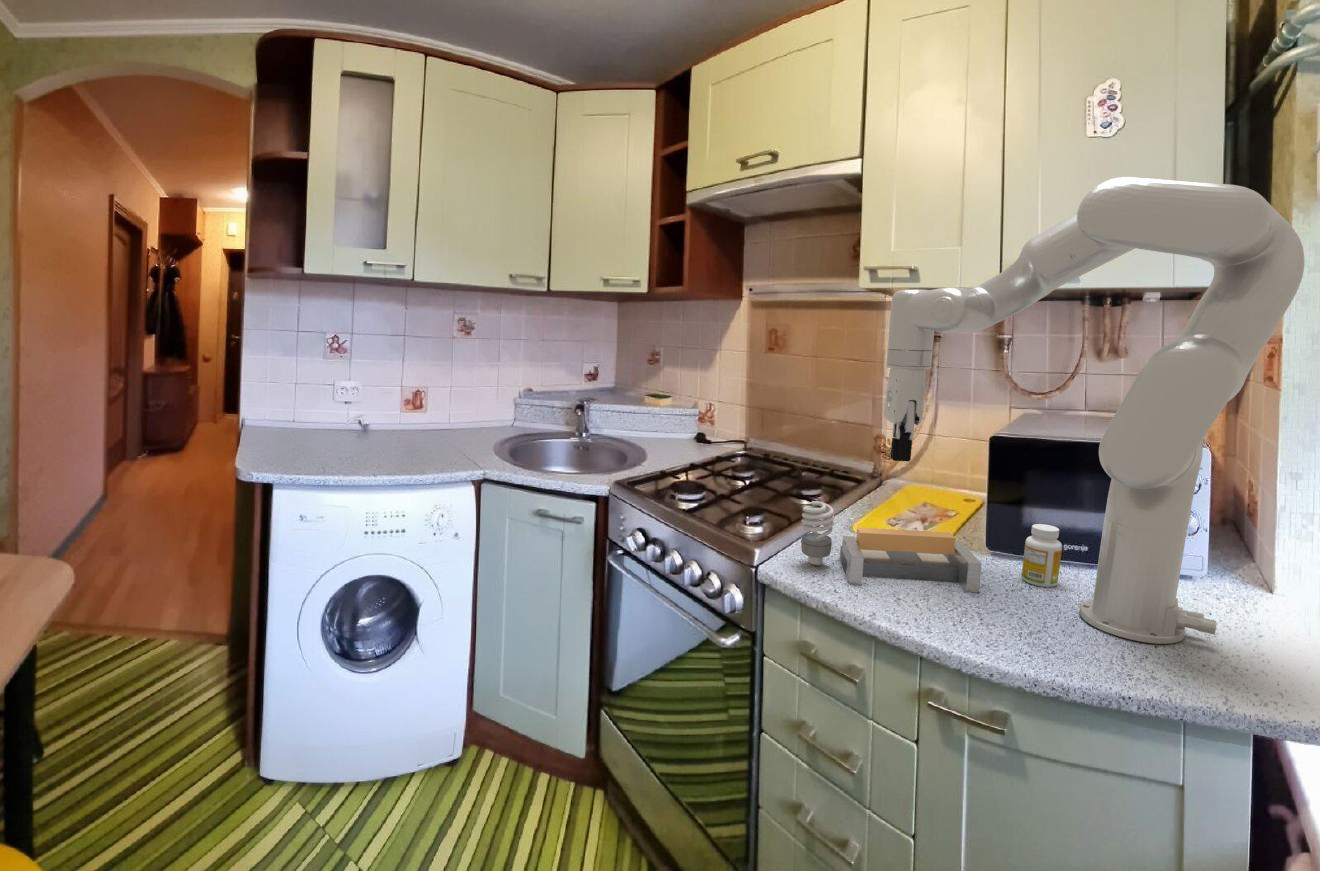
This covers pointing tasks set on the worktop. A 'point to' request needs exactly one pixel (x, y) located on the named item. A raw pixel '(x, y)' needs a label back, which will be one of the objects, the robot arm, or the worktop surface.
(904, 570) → the holder stand
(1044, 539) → the supplement bottle
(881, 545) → the orange long rectangular bar
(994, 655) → the worktop surface
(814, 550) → the light bulb
